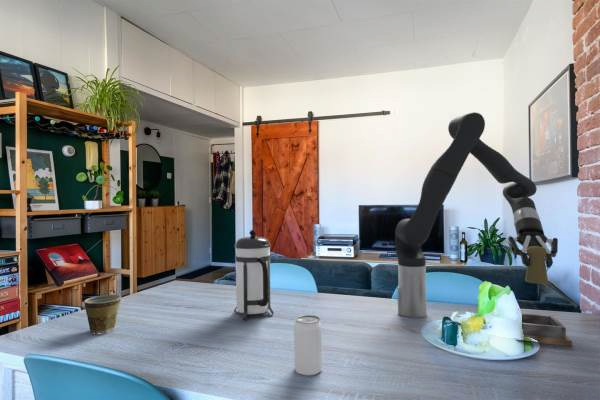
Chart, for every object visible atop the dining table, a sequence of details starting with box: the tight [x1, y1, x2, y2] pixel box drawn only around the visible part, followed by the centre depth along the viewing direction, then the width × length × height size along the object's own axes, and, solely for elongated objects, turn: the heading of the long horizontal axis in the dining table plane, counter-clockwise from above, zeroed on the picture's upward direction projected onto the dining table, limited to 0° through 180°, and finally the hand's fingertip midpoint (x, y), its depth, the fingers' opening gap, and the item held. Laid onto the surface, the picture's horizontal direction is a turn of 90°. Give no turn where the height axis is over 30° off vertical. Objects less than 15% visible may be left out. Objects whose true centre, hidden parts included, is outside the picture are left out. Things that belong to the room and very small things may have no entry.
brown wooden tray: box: [521, 312, 573, 347], centre depth 103 cm, size 13×13×4 cm
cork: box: [524, 246, 549, 285], centre depth 109 cm, size 6×6×11 cm
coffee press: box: [233, 229, 275, 321], centre depth 125 cm, size 17×16×30 cm
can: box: [293, 314, 323, 377], centre depth 83 cm, size 6×6×12 cm
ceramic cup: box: [84, 294, 121, 335], centre depth 112 cm, size 13×10×10 cm
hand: (538, 265), depth 108 cm, fingers closed on cork, 5 cm apart
